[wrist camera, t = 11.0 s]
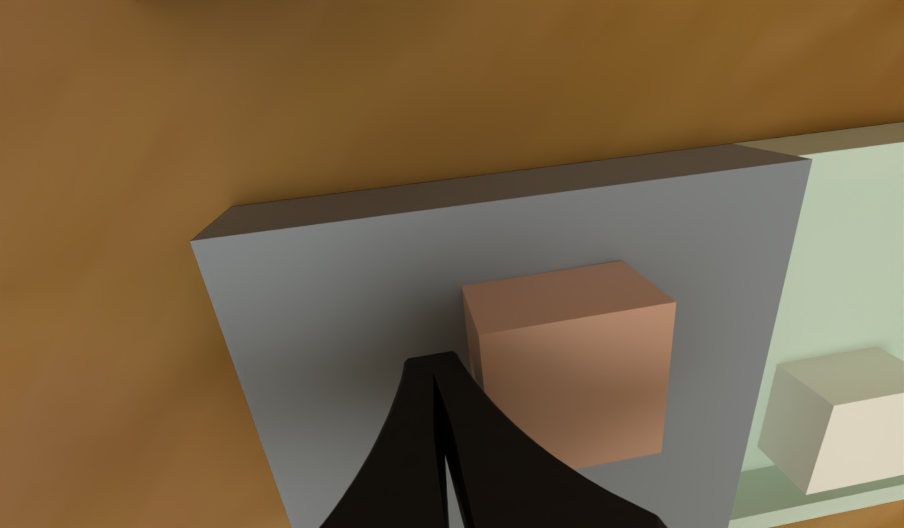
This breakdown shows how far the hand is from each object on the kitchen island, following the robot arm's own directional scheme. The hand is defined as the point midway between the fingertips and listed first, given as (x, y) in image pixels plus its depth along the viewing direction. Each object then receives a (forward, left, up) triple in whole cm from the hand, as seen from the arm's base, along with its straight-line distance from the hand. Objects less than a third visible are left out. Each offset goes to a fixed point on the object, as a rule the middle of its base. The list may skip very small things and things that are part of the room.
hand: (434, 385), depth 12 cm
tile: (-7, -16, -1) cm, 18 cm away
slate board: (-3, -3, -4) cm, 6 cm away
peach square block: (0, -3, -1) cm, 4 cm away
